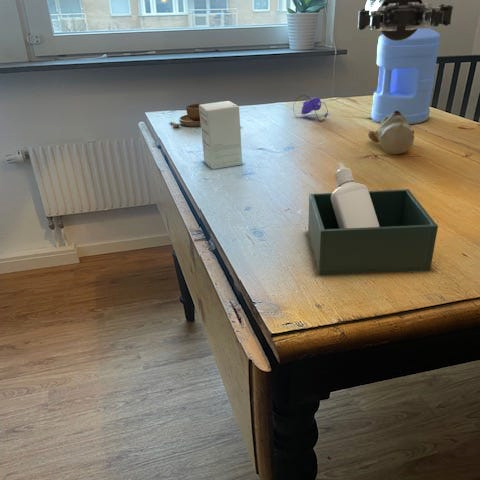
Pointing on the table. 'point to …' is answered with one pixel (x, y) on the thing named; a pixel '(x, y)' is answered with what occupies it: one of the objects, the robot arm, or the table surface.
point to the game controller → (311, 106)
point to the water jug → (406, 76)
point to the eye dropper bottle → (352, 202)
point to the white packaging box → (221, 134)
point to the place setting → (190, 116)
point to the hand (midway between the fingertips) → (407, 19)
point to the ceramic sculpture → (393, 134)
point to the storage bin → (373, 236)
